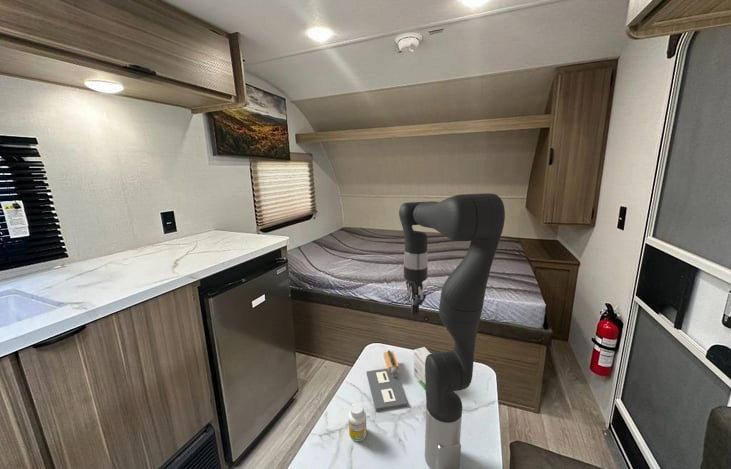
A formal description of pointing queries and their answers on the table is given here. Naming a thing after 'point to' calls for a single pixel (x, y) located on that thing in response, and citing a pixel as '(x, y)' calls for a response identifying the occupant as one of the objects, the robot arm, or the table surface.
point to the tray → (385, 390)
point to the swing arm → (391, 362)
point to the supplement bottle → (357, 422)
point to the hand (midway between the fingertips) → (414, 313)
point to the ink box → (420, 365)
